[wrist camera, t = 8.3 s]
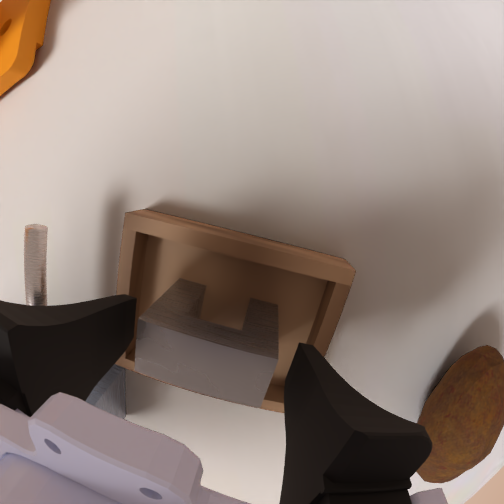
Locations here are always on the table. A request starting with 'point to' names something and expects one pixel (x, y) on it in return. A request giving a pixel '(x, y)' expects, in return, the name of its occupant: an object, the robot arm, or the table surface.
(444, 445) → the potato
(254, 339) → the block
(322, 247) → the table surface
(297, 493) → the robot arm
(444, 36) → the table surface
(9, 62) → the bracket
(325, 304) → the tray
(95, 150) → the table surface
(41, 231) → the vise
